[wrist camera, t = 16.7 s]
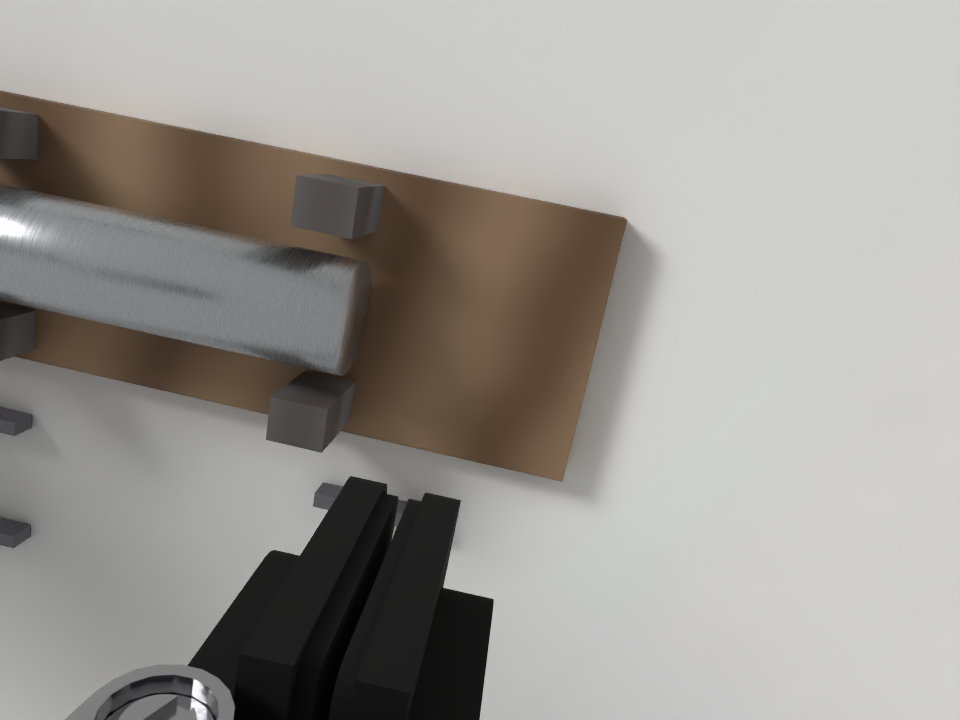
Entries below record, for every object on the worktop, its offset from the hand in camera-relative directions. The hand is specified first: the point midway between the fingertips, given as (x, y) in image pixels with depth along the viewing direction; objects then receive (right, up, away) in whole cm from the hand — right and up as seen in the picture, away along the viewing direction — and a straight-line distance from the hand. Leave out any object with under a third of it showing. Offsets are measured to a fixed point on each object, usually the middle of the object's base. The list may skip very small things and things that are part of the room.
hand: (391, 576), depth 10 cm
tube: (-15, +7, +16) cm, 23 cm away
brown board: (-10, +7, +17) cm, 21 cm away
